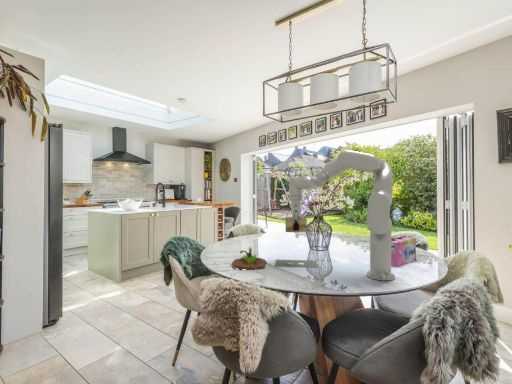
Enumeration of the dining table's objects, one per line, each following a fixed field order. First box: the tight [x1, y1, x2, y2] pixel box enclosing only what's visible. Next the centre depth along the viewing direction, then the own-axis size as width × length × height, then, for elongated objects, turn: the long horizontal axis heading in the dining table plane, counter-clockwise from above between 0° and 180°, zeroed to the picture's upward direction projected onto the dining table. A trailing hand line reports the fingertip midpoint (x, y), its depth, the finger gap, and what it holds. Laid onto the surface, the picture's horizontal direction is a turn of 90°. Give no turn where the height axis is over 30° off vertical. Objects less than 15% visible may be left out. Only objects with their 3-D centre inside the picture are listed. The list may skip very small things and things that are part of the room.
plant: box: [231, 246, 267, 271], centre depth 156 cm, size 20×20×11 cm
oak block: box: [284, 216, 308, 233], centre depth 158 cm, size 5×12×8 cm, turn 83°
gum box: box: [391, 236, 417, 268], centre depth 161 cm, size 24×8×14 cm, turn 125°
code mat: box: [274, 259, 319, 269], centre depth 159 cm, size 15×24×1 cm, turn 83°
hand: (296, 229), depth 158 cm, fingers closed on oak block, 5 cm apart
